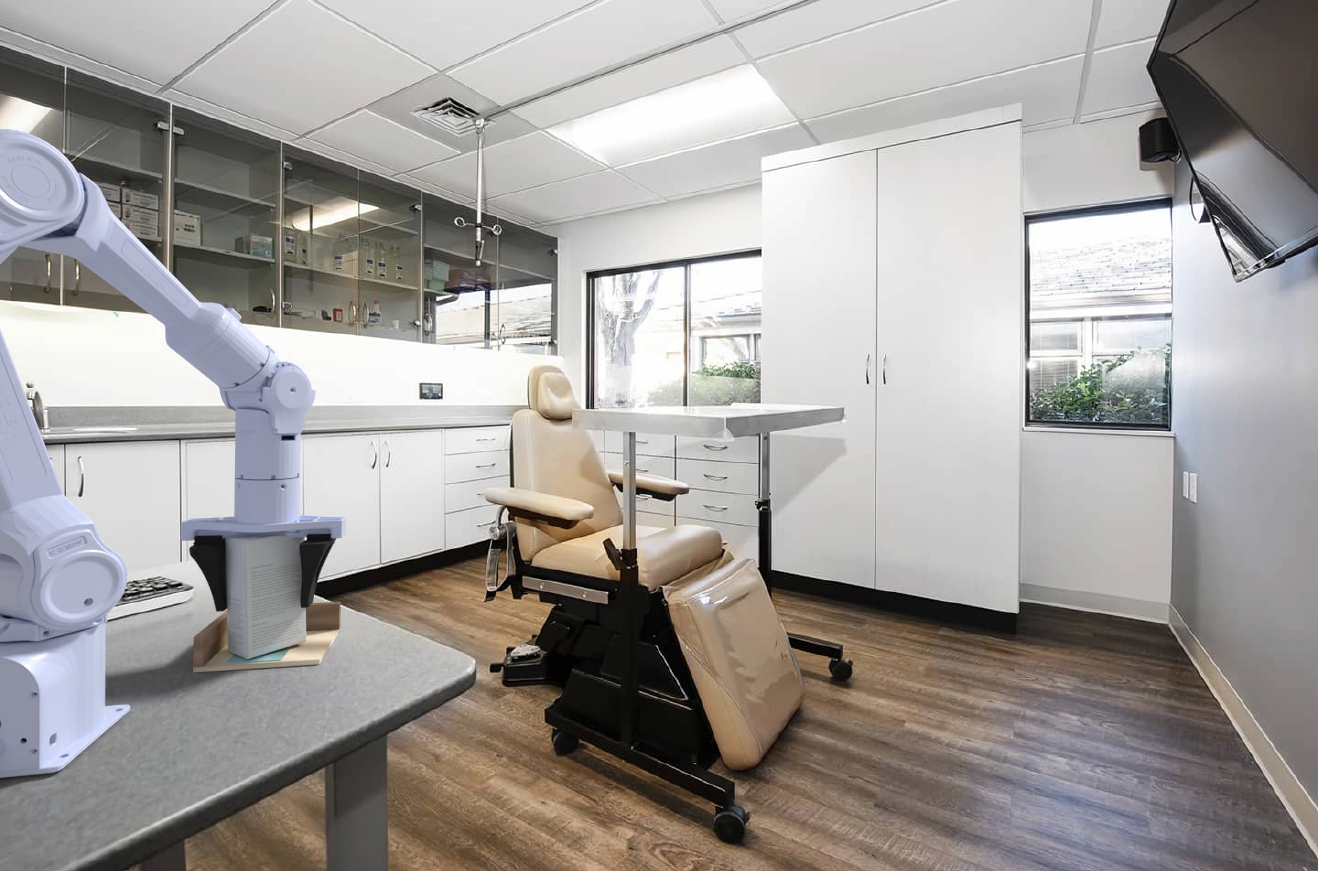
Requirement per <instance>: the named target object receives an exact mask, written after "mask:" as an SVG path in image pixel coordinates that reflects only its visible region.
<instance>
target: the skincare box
mask: <svg viewBox="0 0 1318 871" xmlns="http://www.w3.org/2000/svg"><path fill="white" fill-rule="evenodd" d="M278 532H286V531H278ZM288 536H289V535H250V536H231V537H227V538H226V539H225V549H226V588H227V609H226V611H227V631H228V651H229V652H230V653H233V654H236V655H238V656H241V657H243V658H245V659H250V658H253V657H256V656H260V655H263V654H266V653H269V652H273V651H276V650H279V649H283V648H286V647H289V646H292V645H296V644H299V643H302V642H305V641H306V608H301V602H300V597H301V584H302V570H301V558H300V550H299V544H300V543H302V542H303V541H304V540H305V537H295V538H288Z"/></svg>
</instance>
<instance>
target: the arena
mask: <svg viewBox="0 0 1318 871" xmlns="http://www.w3.org/2000/svg"><path fill="white" fill-rule="evenodd" d="M340 606H341V607H340ZM341 608H342V601H329V602H328V601H327V602H313V603H312V604H311V605H310V606H309V607H308V608H306V641H305V642H302V643H299V644H296V645H292V646H289V647H286V648H283V649H279V650H276V651H273V652H269V653H266V654H263V655H260V656H256V657H253V658H250V659H245V658H243V657H241V656H238V655H236V654H233V653H230V652H229V651H228V631H227V610H225V611H223V613H221V614H220V615H219V616H218V617H216V618H215V619H214V620H213V621H211V622H210V623H209V624H208V625H207V626H205V627H204V628H203V629H202V630H201V631H199V632H198V633H196V634H195V635H194V636H193V656H192V657H193V664H192V665H193V666H192V668H193V669H192V671H193V673H206V672H219V671H236V670H253V669H267V668H270V669H271V668H281V667H283V668H284V667H285V668H286V667H295V666H296V667H297V666H300V667H301V666H314V665H320V664H321V663H322V661H323V660H324V658H325V657H326V655H327V653H328V651H329V649H330V648H331V647H332V645H333V644H334V642H335V640H336V639H337V637H338V636H339V634H340V633H341V617H342V616H341V613H342V612H341V611H342V609H341Z"/></svg>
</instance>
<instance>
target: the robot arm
mask: <svg viewBox="0 0 1318 871" xmlns="http://www.w3.org/2000/svg"><path fill="white" fill-rule="evenodd" d="M19 247H24V248H28V249H32V250H38V251H43V252H47V253H52V254H57V255H61V256H67V257H71V258H73V259H75V260H76V261H78V262H79V263H81V264H82V265H84V266H85V267H86V268H87V269H89V270H90V271H91V272H93V273H94V274H96V275H97V276H98V277H99V278H101V279H102V280H103V281H104V282H106V283H108V285H110V286H112V287H113V288H115V290H117V291H119V292H120V293H121V294H122V295H124V296H125V297H126V298H128V299H129V300H130V301H132V302H133V303H134V304H136V305H137V306H138V307H139V308H141V309H142V310H143V311H145V312H146V313H148V314H150V316H151V317H153V318H155V319H156V320H157V321H158V322H160V323H161V324H163V325H164V329H165V332H164V333H165V336H164V337H165V342H166V345H167V346H168V347H169V348H170V349H171V350H173V351H174V352H175V353H176V354H177V355H178V356H180V357H181V358H182V359H184V360H185V361H186V362H188V363H189V364H190V365H191V366H193V367H194V369H196V370H197V371H198V372H200V373H201V374H202V375H204V376H205V377H206V378H207V379H209V380H210V381H211V382H213V383H214V384H215V385H216V386H217V387H218V389H219V394H220V398H221V400H222V402H223V404H224V405H225V407H226V408H227V409H228V410H233V411H234V412H235V418H234V419H235V420H234V421H235V422H234V423H235V426H234V428H235V429H234V431H235V433H234V435H235V436H234V504H233V505H234V506H233V507H234V511H233V512H234V513H233V515H234V516H221V517H220V516H219V517H218V516H217V517H199V518H198V517H197V518H196V517H195V518H188V519H185V520H183V521H181V530H180V533H181V535H180V536H181V539H180V540H181V541H183V542H188V541H191V542H192V541H194V542H193V543H192V544H193V545H192V546H191V545H190V547H189V548H188V551H189V552H188V553H189V555H190V557H191V558H192V559H193V560H194V562H195V563H196V565H197V566H198V568H199V569H200V571H201V572H202V574H203V576H204V578H205V581H206V583H207V586H208V587H209V591H210V592H211V596H212V600H213V603H214V604H213V605H214V607H215V612H225V611H227V588H226V549H225V539H226V538H227V537H231V536H250V535H289V536H288V538H295V537H304V538H306V539H304V541H303V542H302V543H300V544H299V550H300V558H301V570H302V584H301V597H300V602H301V608H308V607H309V606H310V605H311V604H312V603H314V598H315V593H316V588H317V585H318V581H319V579H320V575H321V572H322V570H323V567H324V565H325V562H326V560H327V559H328V556H329V554H330V552H331V550H332V548H333V547H334V545H335V542H336V540H337V539H342V538H343V537H344V536H345V535H346V534H347V533H346V530H347V527H346V526H347V517H346V516H341V517H339V516H320V515H319V516H317V515H304V514H303V515H300V480H301V478H300V476H301V434H302V433H303V429H305V427H306V417H307V413H308V412H309V411H310V409H311V408H312V406H313V404H314V401H315V398H316V390H315V389H313V388H312V384H311V383H312V382H311V380H310V378H309V377H308V375H307V374H306V373H305V372H304V371H303V369H302V368H301V367H300V366H298V365H296V364H295V363H294V362H288V361H280V359H279V358H278V356H277V355H276V350H275V349H273V347H271V346H270V345H268V344H267V345H265V344H264V343H263V342H262V341H261V340H260V339H259V338H257V336H256V335H254V333H252V332H251V330H249V329H248V328H247V327H246V326H245V325H244V323H242V322H241V321H240V320H241V319H242V316H241V315H240V313H239V312H237V311H236V310H235V308H233V307H229V308H228V307H225V306H223V304H220V303H216V302H200V301H199V300H198V299H197V298H196V297H195V296H194V295H193V294H192V292H190V291H189V290H188V289H187V288H186V286H184V285H183V284H182V282H180V280H178V279H177V277H175V275H174V274H173V273H171V271H170V270H168V268H167V267H166V266H165V265H164V264H163V263H162V262H161V261H160V260H159V259H157V257H156V256H155V255H154V254H153V253H152V252H151V251H150V250H149V249H148V248H147V247H146V246H145V245H144V244H143V243H142V242H141V241H140V239H138V238H137V237H136V236H135V234H134V233H132V231H131V230H130V229H129V228H128V227H127V226H126V225H125V224H124V223H123V222H122V221H121V220H120V219H119V218H118V217H117V216H116V215H115V214H114V213H113V211H112V210H111V207H109V203H108V202H107V200H106V198H105V195H104V194H103V192H102V189H101V188H100V187H99V185H97V183H95V182H94V181H92V180H91V179H90V178H89V177H87V176H86V175H84V173H81V172H78V171H77V170H76V168H75V167H74V165H73V163H72V162H70V160H69V158H67V157H66V156H65V155H64V153H62V151H60V150H59V149H58V148H56V147H55V146H53V145H52V144H51V143H49V142H47V141H46V140H44V139H42V138H40V137H38V136H36V135H34V134H31V133H28V132H25V131H21V130H17V129H11V128H0V265H1V264H2V263H3V262H5V261H6V260H7V258H8V257H9V256H10V255H12V254H13V253H14V251H15V252H16V250H17V249H18V248H19ZM12 358H13V357H12V355H11V353H10V350H9V347H8V345H7V343H6V339H5V337H4V335H3V332H2V329H1V328H0V779H1V778H3V779H4V778H12V777H22V776H33V775H42V774H43V775H44V774H45V775H46V774H53V773H56V772H59V771H61V770H62V769H64V768H65V767H66V766H68V764H69V763H71V762H72V761H73V760H74V759H75V758H76V757H77V756H79V755H80V754H82V753H83V751H84V750H86V749H87V748H88V747H89V746H90V745H92V744H93V743H94V742H95V741H96V740H97V739H99V738H100V737H101V736H102V735H103V734H104V733H106V732H107V731H108V730H109V729H110V728H112V726H114V724H116V723H117V722H118V721H120V719H122V718H123V717H124V716H125V715H126V714H127V713H129V712H130V710H131V705H130V704H115V705H114V704H113V705H106V632H107V631H106V630H107V629H106V626H107V624H106V623H108V614H109V613H110V612H111V611H112V610H113V609H114V608H116V605H117V604H118V603H119V602H120V600H121V599H122V597H123V595H124V593H125V590H126V588H127V583H128V578H129V577H128V576H129V575H128V567H127V565H126V562H125V561H124V559H123V557H122V556H121V555H120V553H118V552H117V551H116V550H114V549H113V548H112V547H110V546H108V544H106V543H105V541H103V539H102V537H101V536H100V534H99V532H98V530H97V527H96V524H95V523H94V521H93V520H92V519H91V518H89V516H87V515H86V513H84V512H83V511H82V510H81V509H80V508H79V507H78V506H77V505H75V504H74V503H73V502H72V501H71V500H70V499H69V498H67V496H66V495H65V494H64V492H63V489H62V486H61V483H60V482H59V479H58V476H57V474H56V471H55V468H54V466H53V463H52V460H51V458H50V455H49V453H48V450H47V447H46V444H45V442H44V439H43V437H42V436H43V435H42V434H41V431H40V429H39V426H38V424H37V420H36V418H35V416H34V412H33V410H32V408H31V405H30V402H29V400H28V396H27V395H26V392H25V390H24V387H23V384H22V382H21V378H20V376H19V374H18V372H17V369H16V366H15V363H14V361H13V359H12ZM278 531H286V532H278Z"/></svg>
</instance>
